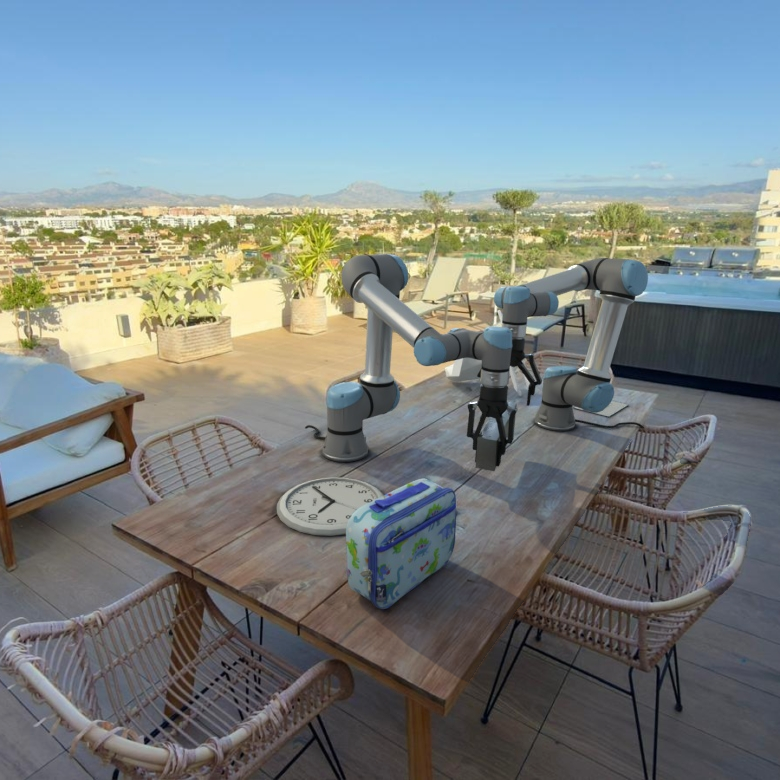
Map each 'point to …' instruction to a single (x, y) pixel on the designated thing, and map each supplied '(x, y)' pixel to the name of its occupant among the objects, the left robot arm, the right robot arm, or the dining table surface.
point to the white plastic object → (476, 369)
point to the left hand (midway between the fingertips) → (487, 462)
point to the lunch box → (400, 540)
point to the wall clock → (324, 504)
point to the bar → (491, 442)
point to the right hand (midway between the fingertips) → (506, 401)
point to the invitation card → (610, 408)
